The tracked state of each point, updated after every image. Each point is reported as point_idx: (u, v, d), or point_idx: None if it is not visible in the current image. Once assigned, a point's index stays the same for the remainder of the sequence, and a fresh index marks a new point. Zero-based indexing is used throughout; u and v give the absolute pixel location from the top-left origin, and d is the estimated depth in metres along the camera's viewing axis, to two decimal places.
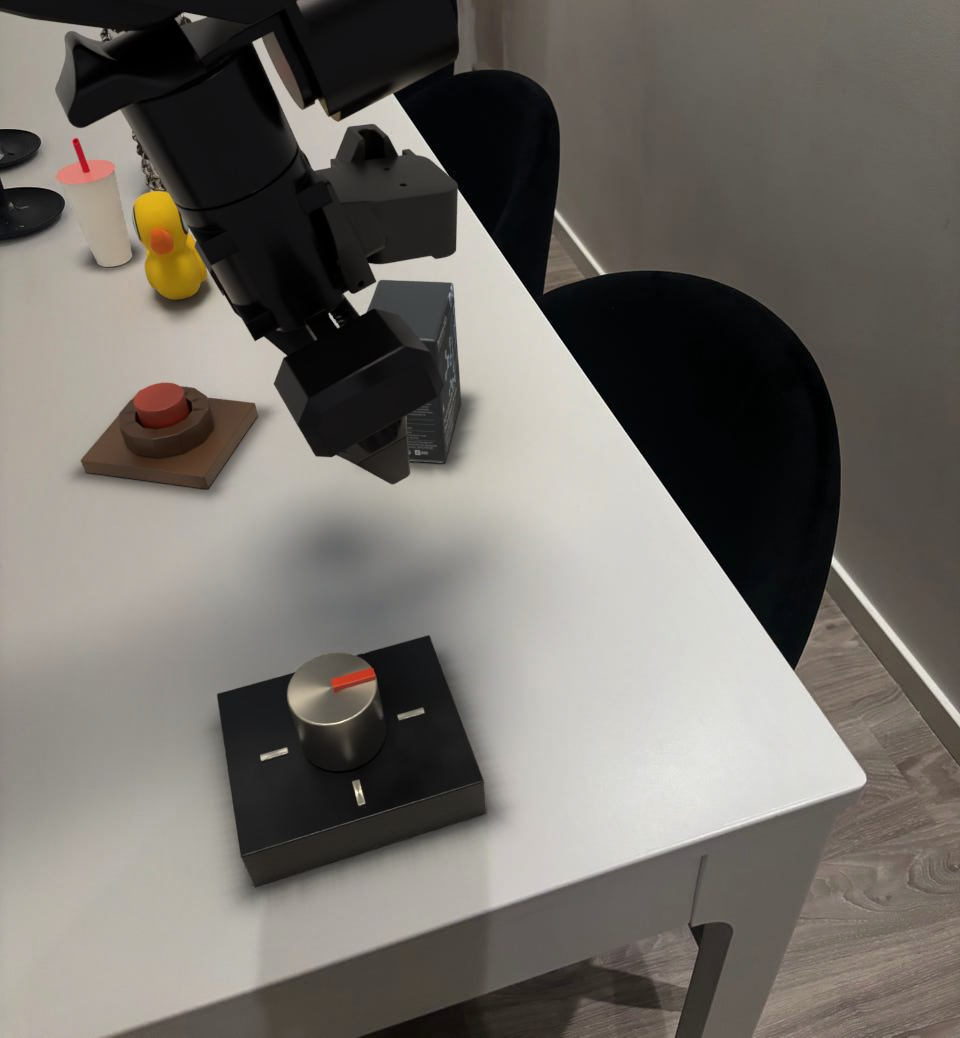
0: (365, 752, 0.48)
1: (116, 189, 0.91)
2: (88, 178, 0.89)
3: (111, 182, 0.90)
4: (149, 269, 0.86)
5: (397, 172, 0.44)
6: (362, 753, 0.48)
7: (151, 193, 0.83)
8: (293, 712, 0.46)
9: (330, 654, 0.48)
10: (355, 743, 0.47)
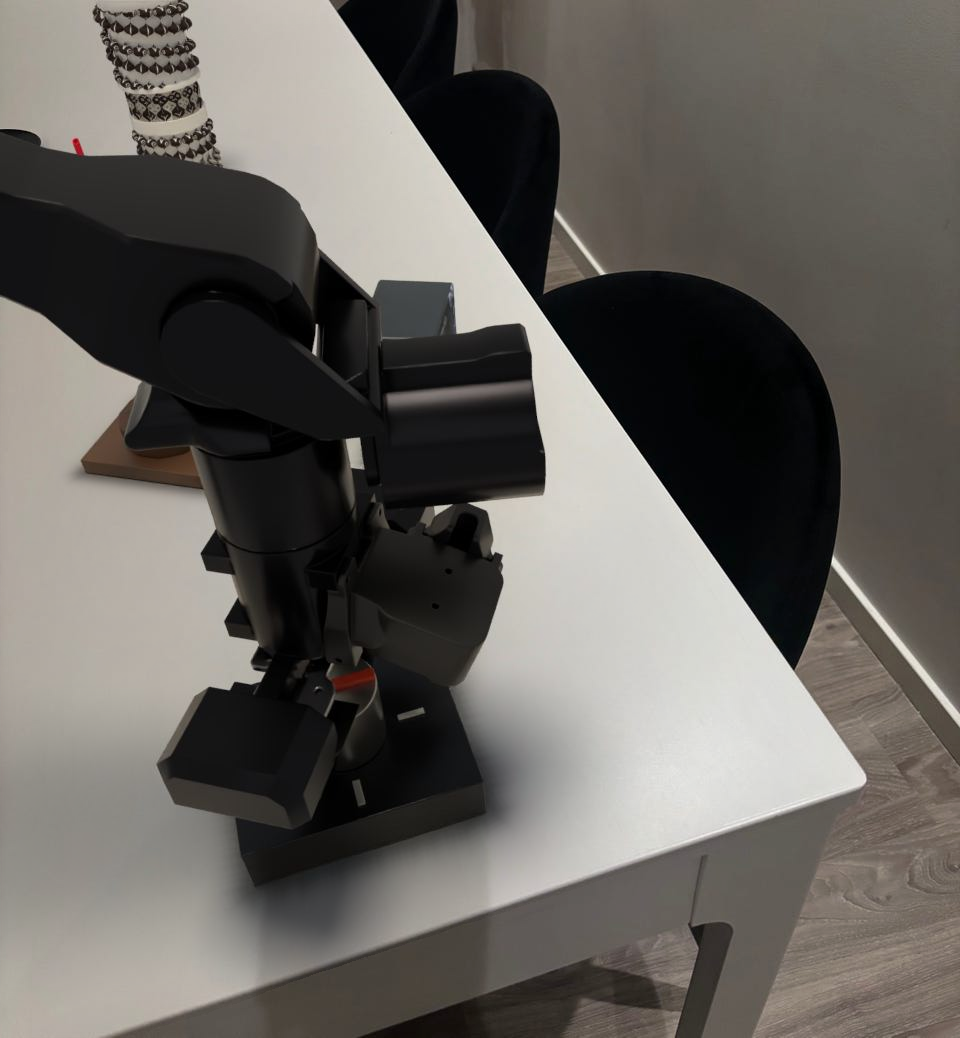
0: (365, 752, 0.48)
1: None
2: None
3: None
4: None
5: (452, 583, 0.40)
6: (362, 753, 0.48)
7: None
8: None
9: None
10: (355, 743, 0.47)
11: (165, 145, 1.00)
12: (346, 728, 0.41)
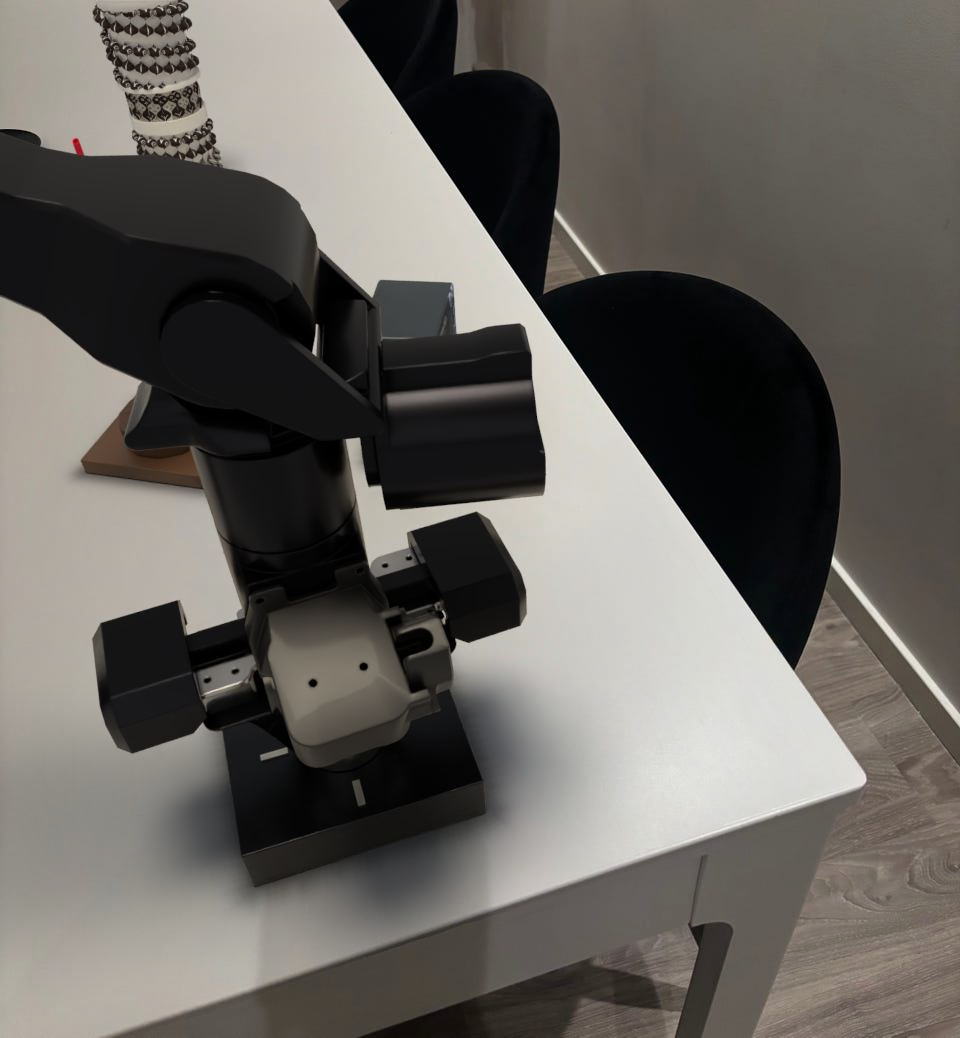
0: None
1: None
2: None
3: None
4: None
5: (352, 678, 0.37)
6: None
7: None
8: None
9: None
10: None
11: (165, 145, 1.00)
12: (240, 719, 0.42)
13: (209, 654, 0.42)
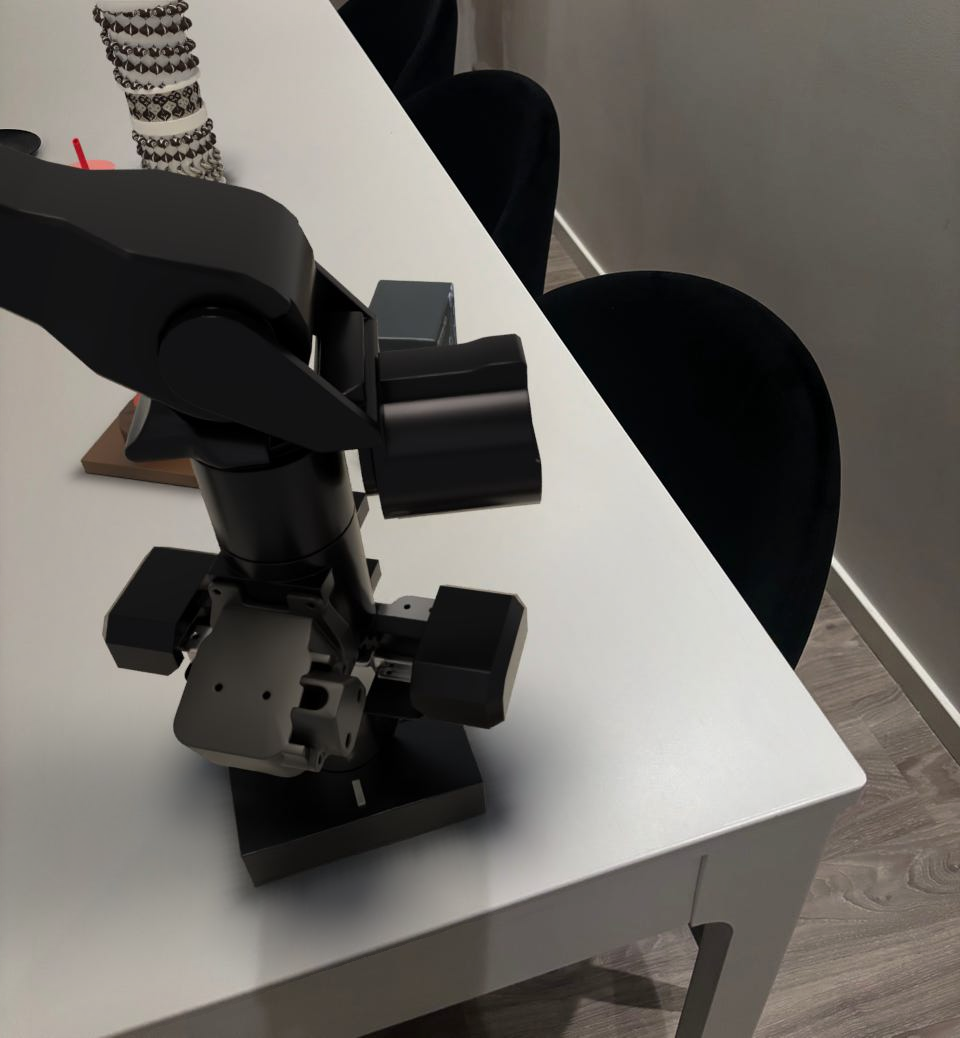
0: None
1: None
2: None
3: None
4: None
5: (250, 701, 0.37)
6: None
7: None
8: None
9: None
10: None
11: (165, 145, 1.00)
12: None
13: None
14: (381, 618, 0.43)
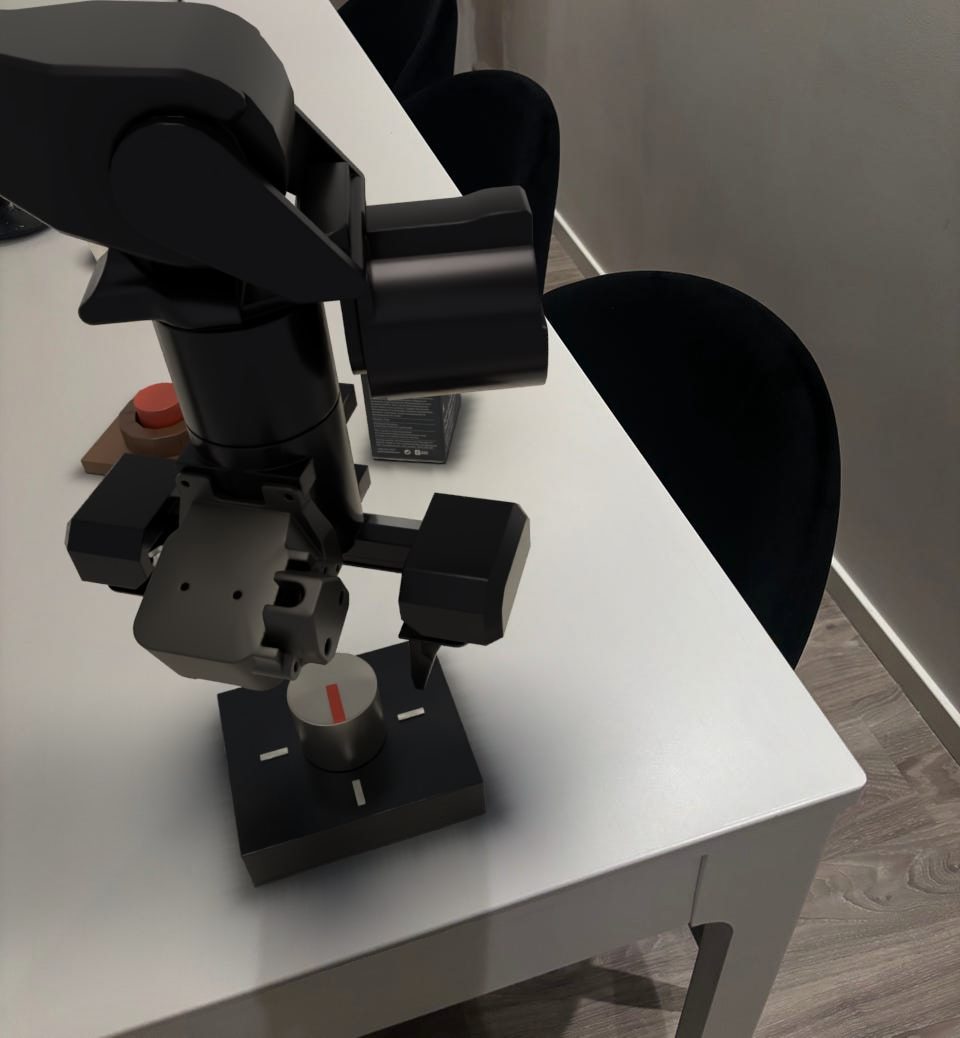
0: (303, 748, 0.48)
1: None
2: None
3: None
4: None
5: (219, 601, 0.33)
6: (302, 745, 0.48)
7: None
8: None
9: (374, 681, 0.47)
10: (296, 729, 0.48)
11: None
12: (136, 590, 0.41)
13: None
14: (369, 526, 0.39)
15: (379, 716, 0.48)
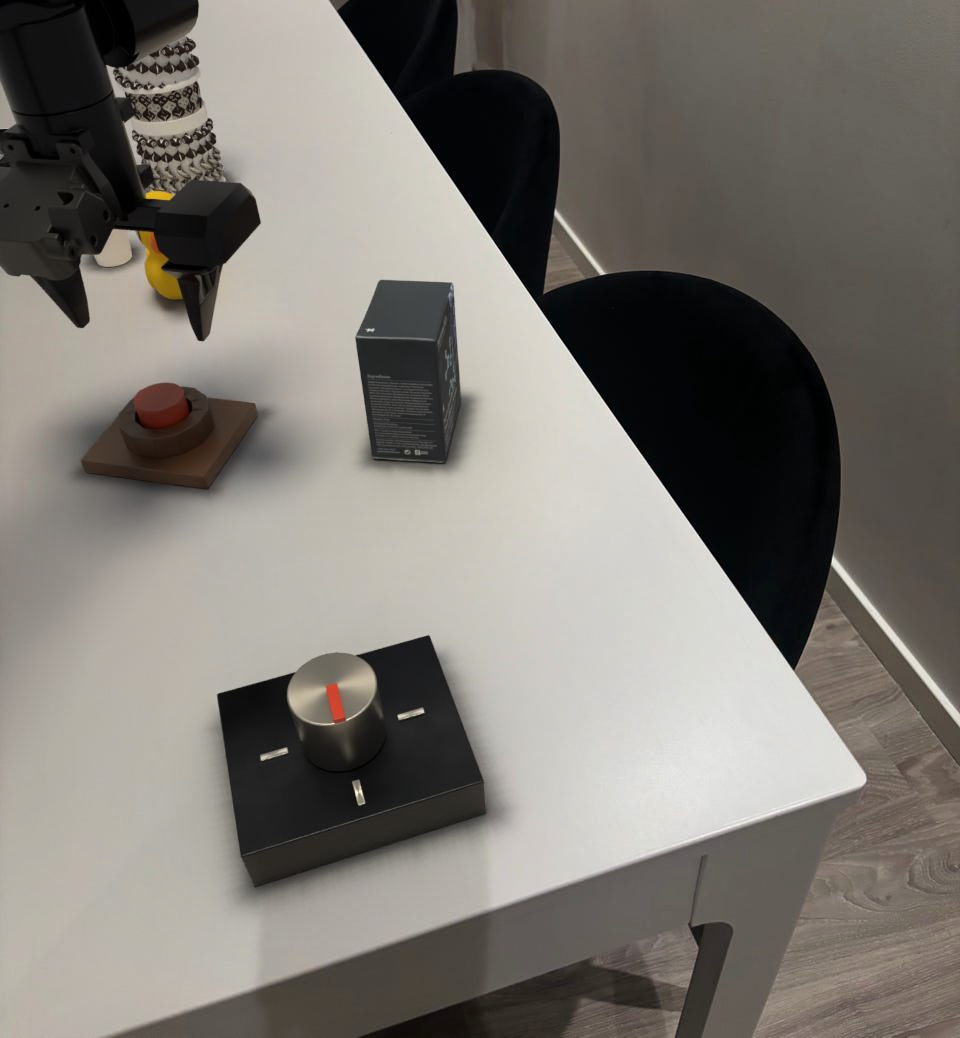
0: (303, 748, 0.48)
1: None
2: None
3: None
4: (149, 269, 0.86)
5: (26, 211, 0.53)
6: (302, 745, 0.48)
7: (151, 193, 0.83)
8: (309, 661, 0.48)
9: (374, 681, 0.47)
10: (296, 729, 0.48)
11: (165, 145, 1.00)
12: None
13: None
14: (146, 200, 0.59)
15: (379, 716, 0.48)
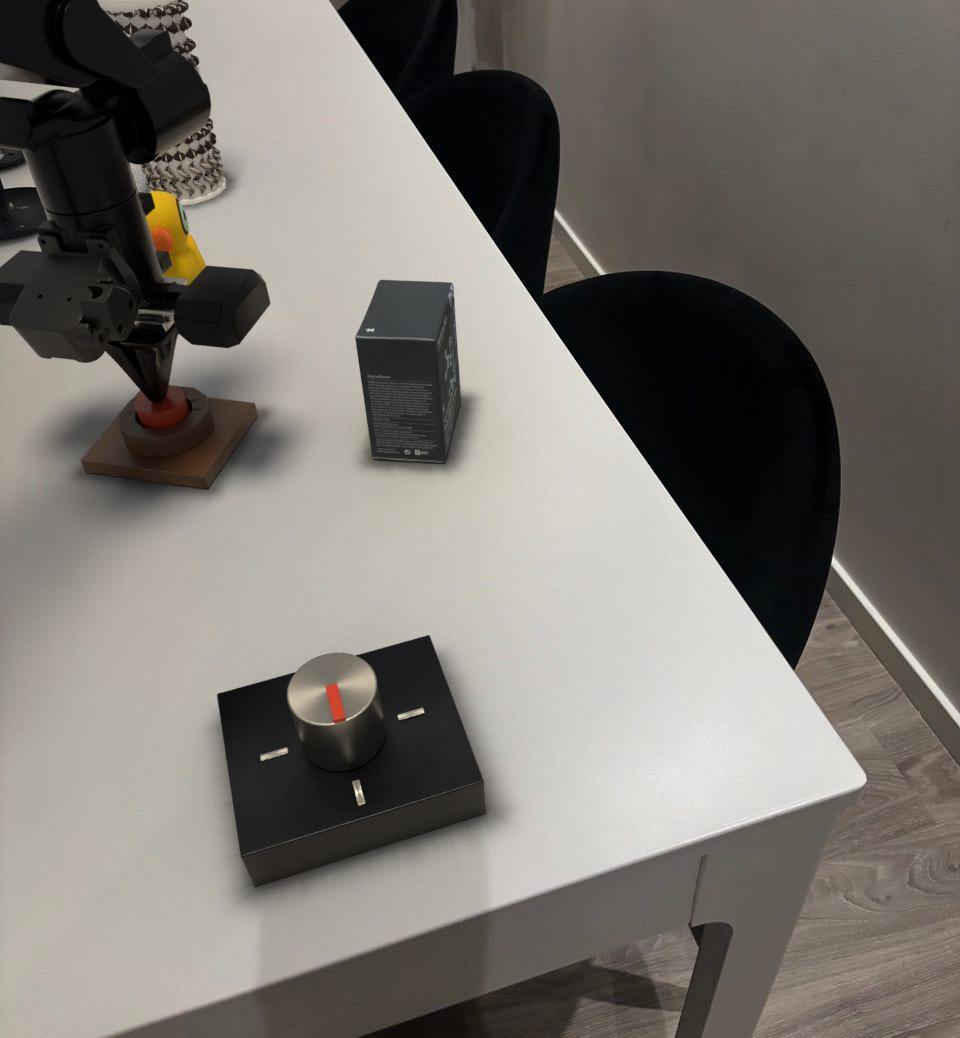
0: (303, 748, 0.48)
1: None
2: None
3: None
4: None
5: (58, 302, 0.58)
6: (302, 745, 0.48)
7: (151, 193, 0.83)
8: (309, 661, 0.48)
9: (374, 681, 0.47)
10: (296, 729, 0.48)
11: None
12: None
13: None
14: (165, 284, 0.64)
15: (379, 716, 0.48)
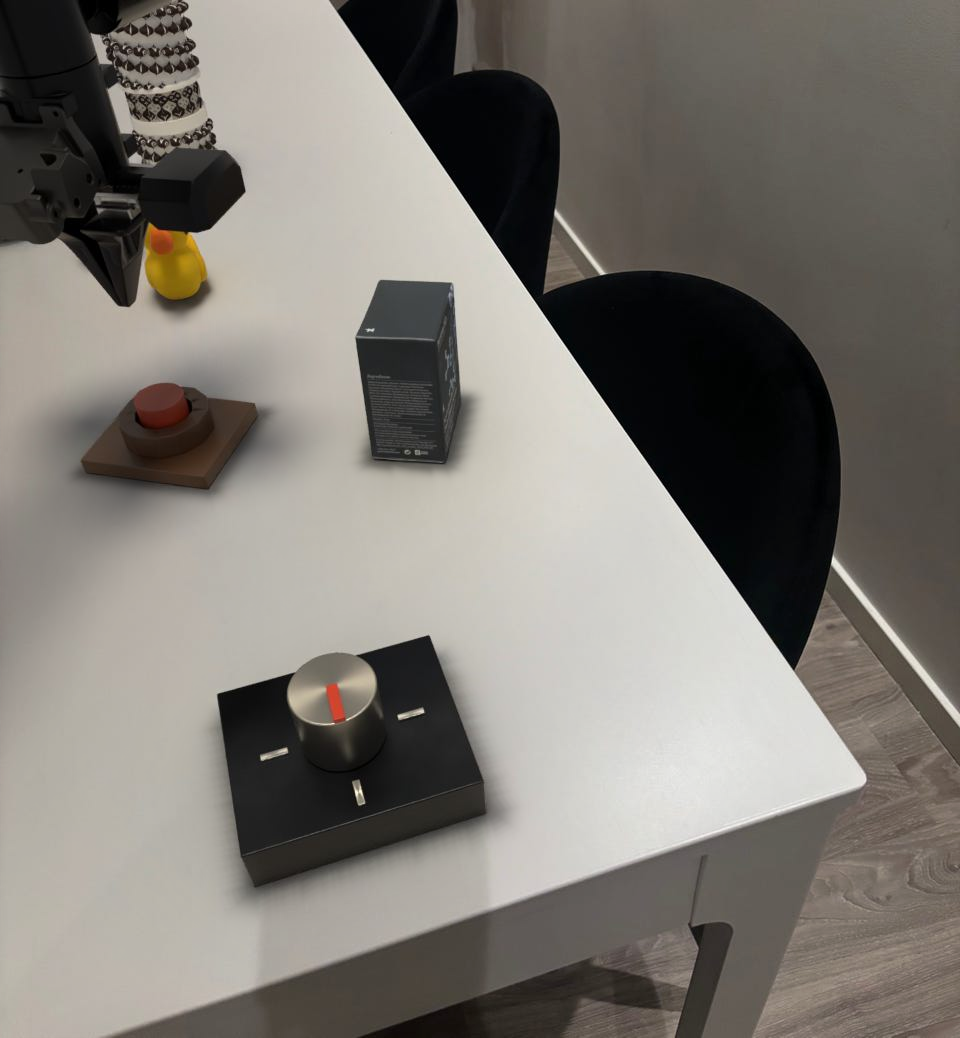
0: (303, 748, 0.48)
1: None
2: None
3: None
4: (149, 269, 0.86)
5: (9, 174, 0.52)
6: (302, 745, 0.48)
7: None
8: (309, 661, 0.48)
9: (374, 681, 0.47)
10: (296, 729, 0.48)
11: (165, 145, 1.00)
12: None
13: None
14: (130, 167, 0.58)
15: (379, 716, 0.48)
